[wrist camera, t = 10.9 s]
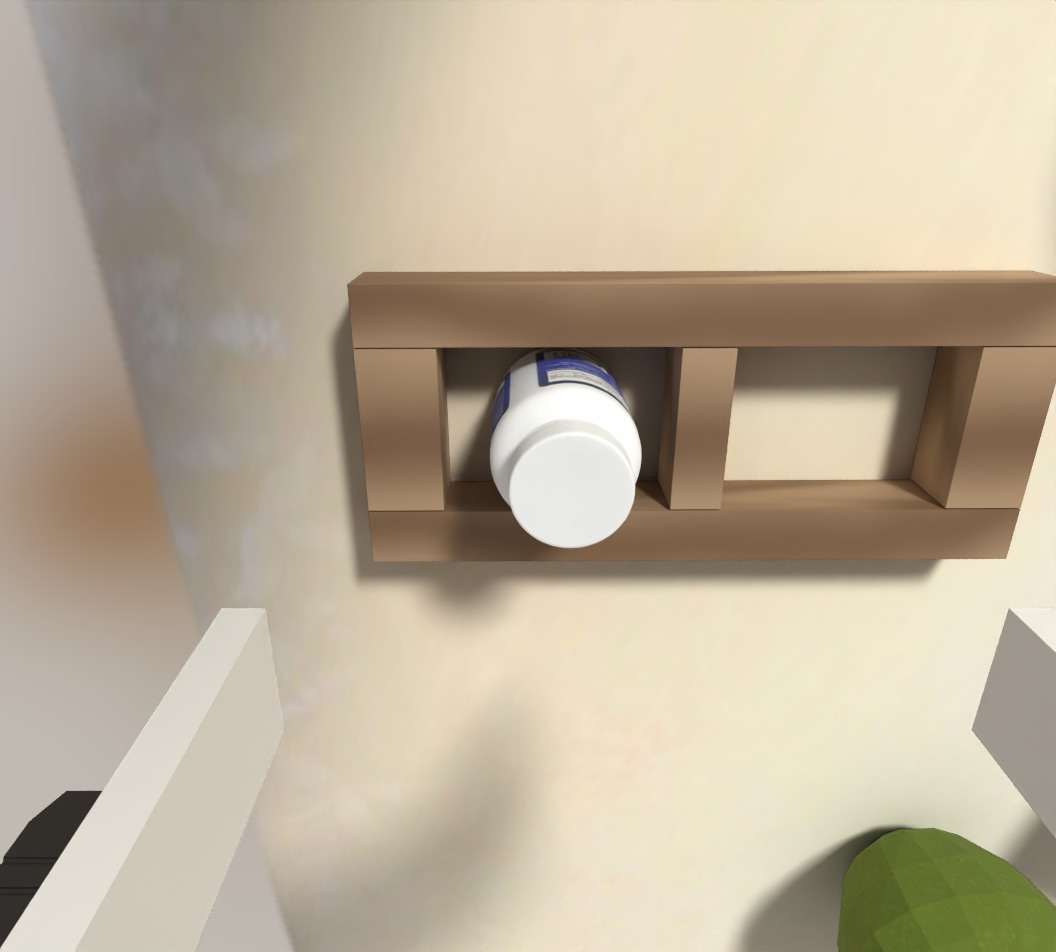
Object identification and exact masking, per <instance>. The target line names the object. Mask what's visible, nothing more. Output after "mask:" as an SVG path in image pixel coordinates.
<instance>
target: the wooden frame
mask: <svg viewBox="0 0 1056 952" xmlns="http://www.w3.org/2000/svg"><path fill="white" fill-rule="evenodd" d="M347 286H348V297H349V308H350V318H351V329H352V340H353V348H354V349H353V351H354V361H355V372H356V383H357V393H358V404H359V415H360V426H361V436H362V447H363V458H364V469H365V479H366V490H367V501H368V511H369V522H370V533H371V544H372V554H373V562H410V561H626V560H843V559H1006V557H1007V554H1008V550H1009V547H1010V543H1011V540H1012V536H1013V533H1014V529H1015V525H1016V522H1017V518H1018V515H1019V511H1020V509H1019V508H1021V504H1022V501H1023V497H1024V494H1025V490H1026V486H1027V483H1028V479H1029V476H1030V472H1031V469H1032V465H1033V462H1034V458H1035V455H1036V451H1037V447H1038V444H1039V440H1040V437H1041V433H1042V430H1043V426H1044V423H1045V419H1046V416H1047V412H1048V408H1049V405H1050V401H1051V398H1052V394H1053V391H1054V387H1055V384H1056V276H1052V275H1048V274H1043V273H1039V272H1035V271H682V272H363V273H362V274H361V275H359V276H358V277H357V278H355V279H354V280H353V281H351V282H350V283H349V284H347ZM786 346H938V351H937V356H936V360H935V365H934V369H933V374H932V379H931V383H930V388H929V393H928V397H927V402H926V407H925V411H924V416H923V421H922V425H921V430H920V435H919V439H918V444H917V449H916V453H915V458H914V463H913V467H912V472H911V477H910V479H911V480H745V481H724V472H725V462H726V453H727V444H728V435H729V426H730V417H731V408H732V399H733V389H734V380H735V371H736V362H737V353H738V348H737V347H786ZM445 347H667V359H666V373H665V387H664V400H663V414H662V428H661V442H660V456H659V470H658V481H636V484H635V496H634V501H633V505H632V507H631V510H630V512H629V514H628V516H627V518H626V519H625V521H624V522H623V523H622V525H621V526H620V527H619V528H618V529H617V530H616V531H615V532H614V533H613V534H611V535H610V536H609V537H607V538H605V539H604V540H602V541H600V542H598V543H595V544H592V545H589V546H586V547H580V548H561V547H556V546H552V545H549V544H546V543H543V542H541V541H539V540H537V539H536V538H534V537H533V536H531V535H530V534H529V533H527V532H526V531H525V530H524V529H523V528H522V527H521V525H520V524H519V523H518V521H517V520H516V518H515V516H514V514H513V512H512V509H511V507H510V506H509V504H508V503H507V502H506V501H505V500H504V499H503V497H502V496H501V494H500V492H499V490H498V488H497V486H496V484H495V482H494V481H493V482H450V481H451V479H450V456H449V434H448V412H447V390H446V368H445Z"/></svg>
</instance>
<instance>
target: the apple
mask: <svg viewBox="0 0 1056 952" xmlns="http://www.w3.org/2000/svg"><path fill="white" fill-rule="evenodd" d="M837 944H838V950H839V952H1056V907H1055V906H1054V905H1053V904H1052V903H1051V902H1050V901H1049V900H1048V899H1047V898H1046V897H1045V896H1044V895H1043V894H1042V893H1041V892H1040V891H1039V890H1038V889H1037V888H1036V887H1035V886H1034V885H1033V884H1032V883H1031V882H1030V881H1029V880H1028V879H1027V878H1026V877H1025V876H1024V875H1022V874H1021V873H1020V872H1019V871H1018V870H1016V869H1015V868H1014V867H1013V866H1012V865H1010V864H1009V863H1008V862H1007V861H1005V860H1003V859H1001V858H1000V857H998V856H996V855H994V854H992V853H990V852H989V851H987V850H985V849H983V848H981V847H979V846H978V845H976V844H974V843H972V842H970V841H968V840H967V839H965V838H963V837H961V836H959V835H957V834H953V833H949V832H946V831H942V830H938V829H935V828H928V829H898V830H895V831H892V832H889V833H886V834H884V835H882V836H881V837H880V838H879V839H877V840H876V841H875V842H874V843H872V844H871V845H870V846H868V847H867V848H866V849H865V850H863V851H862V852H861V853H859V854H858V855H857V856H856V857H855V859H854V860H853V862H852V863H851V865H850V867H849V868H848V870H847V871H846V873H845V874H844V881H843V891H842V902H841V912H840V922H839V933H838V943H837Z"/></svg>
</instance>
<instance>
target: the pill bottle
mask: <svg viewBox="0 0 1056 952" xmlns="http://www.w3.org/2000/svg"><path fill="white" fill-rule="evenodd" d="M641 458H642V454H641V443H640V438H639V435H638V431H637V428H636V425H635V422H634V420H633V418H632V416H631V414H630V411H629V409H628V407H627V405H626V402H625V400H624V398H623V396H622V394H621V392H620V389H619V387H618V385H617V383H616V381H615V379H614V378H613V376H612V374H611V373H610V371H609V370H608V369H607V368H606V366H605V365H604V364H603V363H601V362H600V361H599V360H598V359H596V358H595V357H593V356H592V355H590V354H588V353H586V352H584V351H582V350H579V349H575V348H571V347H547V348H543V349H539V350H536V351H534V352H531V353H529V354H527V355H525V356H523V357H522V358H520V359H519V360H518V361H516V362H515V363H514V364H513V365H512V366H511V367H510V368H509V369H508V371H507V372H506V373H505V375H504V376H503V378H502V379H501V381H500V383H499V386H498V388H497V392H496V395H495V399H494V407H493V418H492V430H491V442H490V465H491V472H492V475H493V479H494V482H495V484H496V486H497V488H498V490H499V492H500V494H501V496H502V497H503V499H504V500H505V501H506V502H507V503H508V504H509V506H510V507H511V509H512V512H513V514H514V516H515V518H516V520H517V521H518V523H519V524H520V525H521V527H522V528H523V529H524V530H525V531H526V532H527V533H529V534H530V535H531V536H533V537H534V538H536V539H537V540H539V541H541V542H543V543H546V544H549V545H552V546H556V547H561V548H580V547H586V546H589V545H592V544H595V543H598V542H600V541H602V540H604V539H605V538H607V537H609V536H610V535H611V534H613V533H614V532H615V531H616V530H617V529H618V528H619V527H620V526H621V525H622V523H623V522H624V521H625V519H626V518H627V516H628V514H629V512H630V510H631V507H632V505H633V501H634V496H635V484H636V481H637V478H638V476H639V472H640V467H641Z"/></svg>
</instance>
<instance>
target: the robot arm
mask: <svg viewBox="0 0 1056 952" xmlns="http://www.w3.org/2000/svg"><path fill="white" fill-rule="evenodd" d="M972 731H973V732H974V733H975V735H976V736H977V737H978V739H979V740H980V741H981V743H982V744H983V745H984V746H985V748H986V749H987V750H988V752H989V753H990V754H991V756H992V757H993V758H994V759H995V761H996V762H997V763H998V765H999V766H1000V767H1001V769H1002V770H1003V771H1004V773H1005V774H1006V775H1007V776H1008V778H1009V779H1010V780H1011V782H1012V783H1013V784H1014V786H1015V787H1016V788H1017V789H1018V791H1019V792H1020V793H1021V795H1022V796H1023V797H1024V799H1025V800H1026V801H1027V803H1028V804H1029V805H1030V806H1031V808H1032V809H1033V810H1034V812H1035V813H1036V814H1037V816H1038V817H1039V818H1040V819H1041V821H1042V822H1043V823H1044V825H1045V826H1046V827H1047V829H1048V830H1049V831H1050V833H1051V834H1052V835H1053V836H1054V838H1055V839H1056V611H1055V610H1054V609H1053V608H1009V610H1008V613H1007V616H1006V620H1005V623H1004V626H1003V629H1002V633H1001V636H1000V639H999V643H998V646H997V649H996V652H995V656H994V659H993V662H992V665H991V669H990V672H989V675H988V678H987V682H986V685H985V688H984V691H983V695H982V698H981V701H980V705H979V708H978V711H977V714H976V718H975V721H974V724H973V727H972ZM284 732H285V728H284V722H283V715H282V709H281V703H280V697H279V690H278V684H277V678H276V672H275V665H274V659H273V653H272V647H271V641H270V634H269V628H268V622H267V616H266V609H265V608H221V610H220V611H219V613H218V614H217V616H216V617H215V619H214V621H213V622H212V624H211V625H210V627H209V628H208V630H207V631H206V633H205V634H204V636H203V637H202V639H201V640H200V642H199V644H198V645H197V647H196V648H195V650H194V651H193V653H192V655H191V656H190V658H189V659H188V660H187V662H186V664H185V665H184V667H183V668H182V670H181V672H180V673H179V674H178V676H177V677H176V679H175V681H174V682H173V684H172V685H171V687H170V688H169V690H168V691H167V693H166V694H165V696H164V698H163V699H162V701H161V702H160V704H159V705H158V707H157V708H156V710H155V711H154V713H153V714H152V716H151V717H150V719H149V721H148V722H147V724H146V725H145V727H144V728H143V730H142V731H141V733H140V734H139V736H138V737H137V739H136V740H135V742H134V744H133V745H132V747H131V748H130V750H129V751H128V753H127V754H126V756H125V757H124V759H123V760H122V762H121V763H120V765H119V767H118V768H117V770H116V771H115V773H114V774H113V776H112V777H111V779H110V780H109V782H108V783H107V785H106V787H105V788H104V790H103V791H66V792H65V793H64V794H62V795H61V796H60V797H59V798H57V799H56V800H55V801H54V802H53V803H52V804H50V805H49V806H48V807H47V808H45V809H44V810H43V811H42V812H40V813H39V814H38V815H37V816H36V817H34V818H33V819H32V820H31V821H30V822H29V823H28V824H27V826H26V827H25V828H24V830H23V831H22V832H21V834H20V835H19V837H18V838H17V839H16V841H15V842H14V843H13V845H12V846H11V847H10V849H9V850H8V852H7V853H6V854H5V856H4V857H3V858H4V859H3V863H2V864H0V952H195V951H196V948H197V946H198V943H199V940H200V938H201V936H202V933H203V931H204V928H205V926H206V924H207V921H208V919H209V916H210V914H211V911H212V909H213V906H214V904H215V901H216V899H217V897H218V894H219V891H220V889H221V887H222V884H223V882H224V879H225V877H226V874H227V872H228V869H229V867H230V865H231V862H232V860H233V857H234V855H235V852H236V850H237V847H238V845H239V842H240V840H241V838H242V835H243V832H244V830H245V828H246V825H247V823H248V820H249V818H250V815H251V813H252V810H253V808H254V806H255V803H256V801H257V798H258V796H259V793H260V791H261V788H262V786H263V783H264V781H265V778H266V776H267V774H268V771H269V769H270V766H271V764H272V761H273V759H274V756H275V754H276V751H277V749H278V746H279V744H280V742H281V739H282V737H283V734H284Z"/></svg>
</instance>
